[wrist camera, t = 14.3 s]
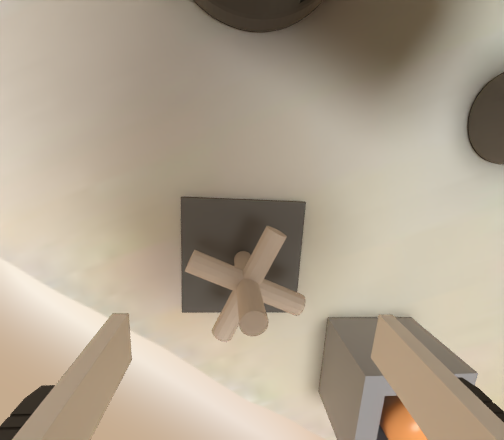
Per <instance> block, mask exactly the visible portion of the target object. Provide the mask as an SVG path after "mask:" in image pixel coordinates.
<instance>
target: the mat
mask: <svg viewBox="0 0 504 440" xmlns="http://www.w3.org/2000/svg"><path fill="white" fill-rule="evenodd" d="M305 204H306V202H297V201H272V200H247V199H222V198H197V197H181V246H182V312H222V310H223V308H224V306H225V304H226V302H227V300H228V298H229V296H230V294H231V293H232V291H233V290H230V289H228V288H225V287H222V286H220V285H217V284H215V283H212V282H210V281H207V280H205V279H202V278H200V277H197V276H195V275H192V274H190V273H187V272H185V269H186V267H187V264H188V262H189V260H190V258H191V256H192V254H193V252H194V250H197V251H199V252H201V253H204V254H206V255H209V256H211V257H213V258H216V259H218V260H221V261H223V262H225V263H228V264H230V265H232V266H234V257H235V255H236V254H237V253H238V252H240V251H246V252H248V253H250V254H251V255H252V253H253V251H254V249H255V247H256V245H257V243H258V241H259V239H260V237H261V236H262V234H263V232H264V230H265V228H266V226H270V227H273V228H275V229H277V230H279V231H280V232H282V233H284V234H285V235H286V236H287V237H286V239H285V241H284V243H283V245H282V247H281V248H280V250H279V252H278V254H277V256H276V258H275V259H274V261H273V263H272V265H271V267H270V269H269V270H268V272H267V274H266V276H265V278H264V279H266V280H268V281H271V282H273V283H276V284H278V285H280V286H283V287H285V288H287V289H290V290H292V291H295V292H297V288H298V277H299V267H300V256H301V246H302V236H303V225H304V215H305ZM264 306H265V310H266V312H286V311H283V310H281V309H278V308H275V307H273V306H270V305H268V304H265V303H264Z"/></svg>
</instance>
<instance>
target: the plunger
mask: <svg viewBox="0 0 504 440" xmlns="http://www.w3.org/2000/svg"><path fill="white" fill-rule="evenodd" d="M380 426H381V428H382V430H383V431H384V433H385V435H386V437H387V438H388V440H428V439H427V438H426V436H425V435H424V433H423V432H422V430H421V429H420V428H419V426H418V425H417V423H416V422H415V420H414V419H413V418H412V416H411V415H410V413H409V412H408V410H407V409H406V408H405V406H404V405H403V403H402V402H401V400H400V399H399V397H398V396H385V398H384V403H383V408H382V414H381V419H380Z"/></svg>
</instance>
